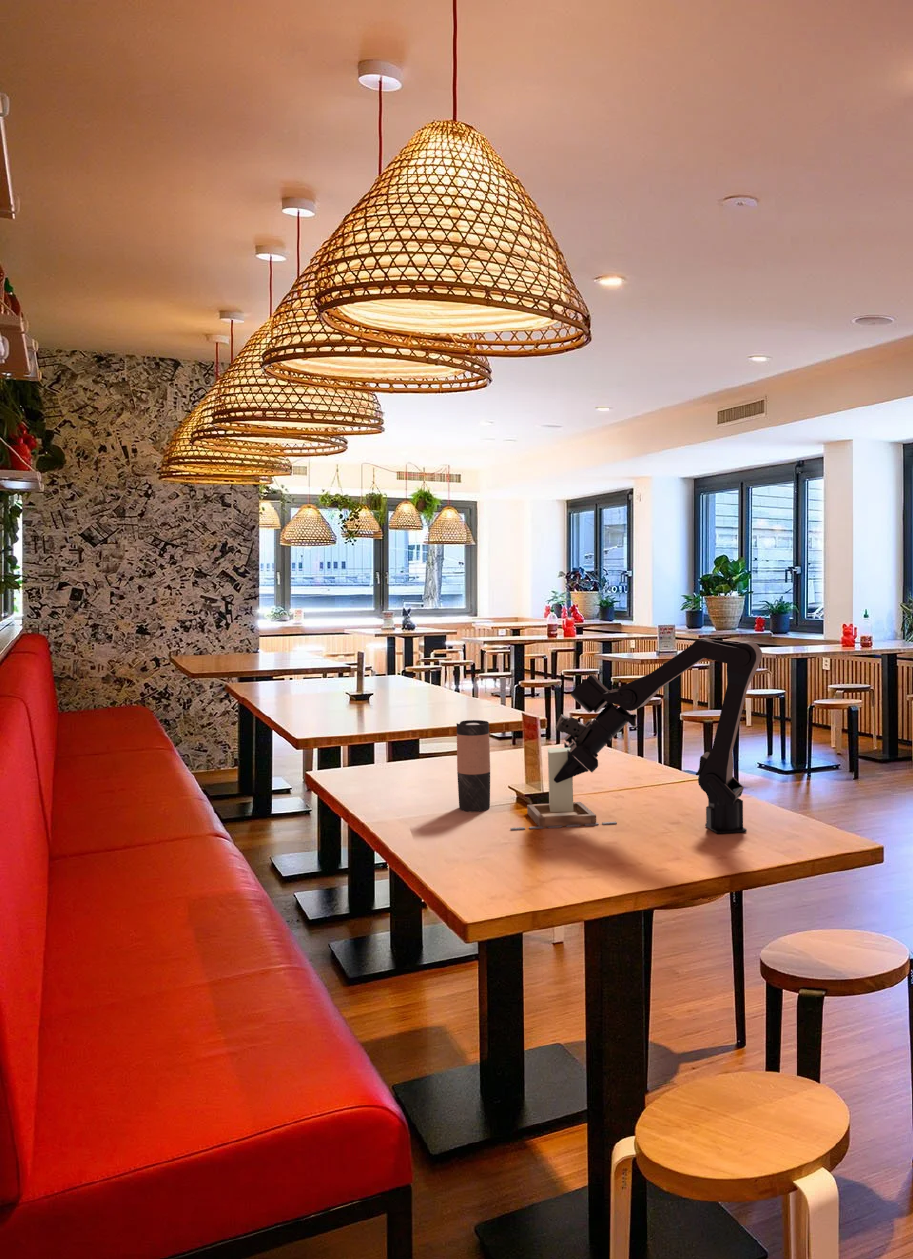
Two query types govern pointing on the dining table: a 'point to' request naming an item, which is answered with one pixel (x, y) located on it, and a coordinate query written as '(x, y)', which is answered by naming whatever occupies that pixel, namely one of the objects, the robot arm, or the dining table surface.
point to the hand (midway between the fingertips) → (554, 778)
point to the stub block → (563, 790)
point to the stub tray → (560, 815)
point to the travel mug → (473, 765)
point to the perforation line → (561, 826)
